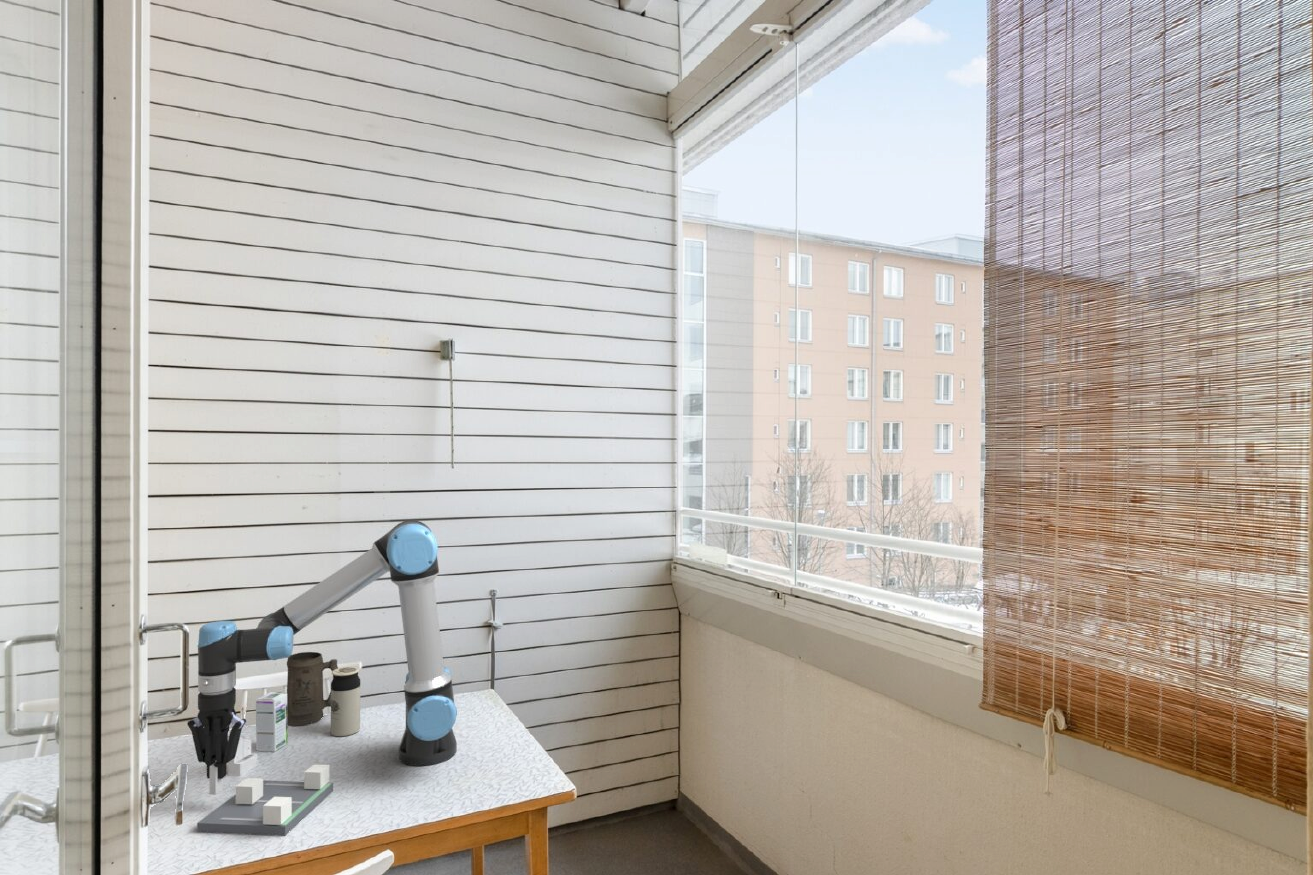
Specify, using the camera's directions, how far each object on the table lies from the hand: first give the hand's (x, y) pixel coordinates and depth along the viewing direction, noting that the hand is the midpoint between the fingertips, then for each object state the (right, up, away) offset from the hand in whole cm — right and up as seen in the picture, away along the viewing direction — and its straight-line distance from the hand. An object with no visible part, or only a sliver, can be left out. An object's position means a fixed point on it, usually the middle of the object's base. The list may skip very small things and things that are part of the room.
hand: (216, 791), depth 167 cm
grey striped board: (+13, -4, -1) cm, 13 cm away
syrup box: (-5, -4, +33) cm, 34 cm away
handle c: (+19, -2, -9) cm, 21 cm away
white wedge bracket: (-5, -4, +19) cm, 20 cm away
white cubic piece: (+20, -2, +7) cm, 21 cm away
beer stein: (-4, -5, +54) cm, 55 cm away
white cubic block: (+8, -2, -1) cm, 8 cm away
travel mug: (+11, -4, +44) cm, 46 cm away
